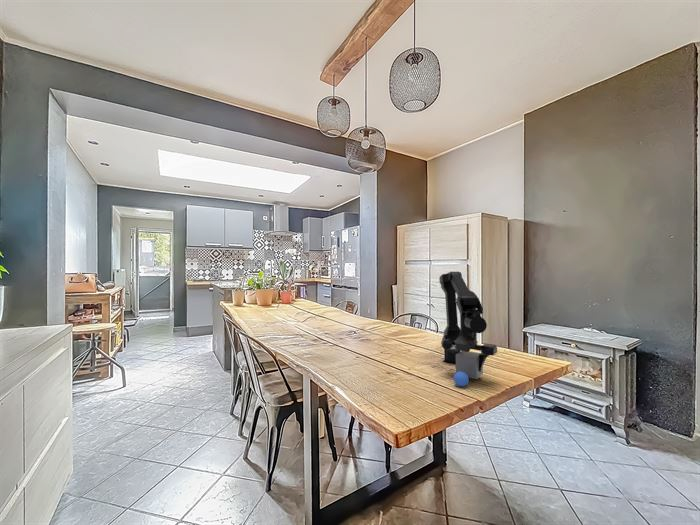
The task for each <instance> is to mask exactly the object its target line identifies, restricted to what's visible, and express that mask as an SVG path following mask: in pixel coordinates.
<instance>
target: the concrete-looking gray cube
mask: <svg viewBox="0 0 700 525" xmlns="http://www.w3.org/2000/svg"><path fill="white" fill-rule="evenodd" d="M480 353H481V352H476V351H475V352H474V351H469V352H464V351H460V352H459V353H457V354H456V364H455V373H457V372H459V371H461V372H464V373H466V374H467V376H468V378H469V379H472V380H473V379H474V380H478V379H479V378H480V377H482V375H483V374H484V373H483V372H484V366H483V367H482V370H481V372H479V359H480V358H479V354H480Z"/></svg>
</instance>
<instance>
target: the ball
mask: <svg viewBox="0 0 700 525" xmlns="http://www.w3.org/2000/svg"><path fill="white" fill-rule="evenodd" d="M469 379H470V378H468V376H467V374H466V373H464V372H461V371H459V372H457V373H456V372H455V373H454V375H453V381H454V383H455V385H457V386H458V387H466V386H467V385H468V383H469V381H470V380H469Z"/></svg>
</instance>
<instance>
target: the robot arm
mask: <svg viewBox="0 0 700 525" xmlns="http://www.w3.org/2000/svg"><path fill="white" fill-rule="evenodd" d="M438 280H439V282H438V283H439V284H440V288H441V289H442V291H443V293H444V295H445V310H446V312H445V313H446V314H445V315H446V327H445V329H444V331H443V335H442V339H441V341H440V342H441V348H442V349H443V350H444V357H443V358H444V360H443V361H442V362H443V363H447V364H452V365H456V354H457V353H459V352H461V351H464V352H471V350H474V351H475V350H476V351H480V352H479V353H480V354H479V358H480V359H479V372H481V370H482V367H483V368H484V364H485V362H486V359H487V358H488V357H490V356H494V355H496V354H497V353H498V346H497V345H496V344H493V343H483V345H481V344H478V337H477V336H478V334H482V333H484V332H485V331H486V329H487V327H488V323H487V321H486V320H485V319H484V317H482V315H483V314H484V308H483V306H482V303H481V301H480V298H479V297H478V295H477V294H476V293H475V292H474V291H472V290H470V289H469V287H468V285H467V284H466V282H465V280H464V278H463V275H462V271H461V272H460V271H450V272H447V273H442V274H441V275H440V276H439V279H438ZM457 309H458V310H457ZM458 312H459V321H458ZM458 323H459V324H460V325H459V324H458ZM459 326H460V327H459Z"/></svg>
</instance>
